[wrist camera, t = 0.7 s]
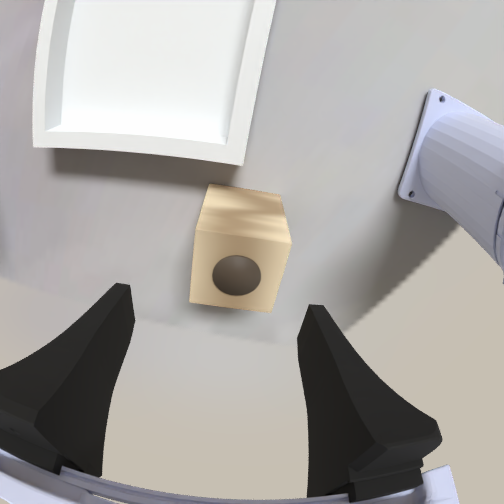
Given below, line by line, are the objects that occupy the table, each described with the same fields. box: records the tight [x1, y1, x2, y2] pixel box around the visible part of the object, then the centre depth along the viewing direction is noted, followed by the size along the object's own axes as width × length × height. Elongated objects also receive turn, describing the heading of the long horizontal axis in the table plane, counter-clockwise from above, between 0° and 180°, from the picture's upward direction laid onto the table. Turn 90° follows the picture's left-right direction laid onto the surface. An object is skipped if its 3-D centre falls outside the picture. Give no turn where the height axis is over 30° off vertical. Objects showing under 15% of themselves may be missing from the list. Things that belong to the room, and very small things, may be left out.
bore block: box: [189, 183, 292, 313], centre depth 18 cm, size 4×4×6 cm
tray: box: [33, 0, 276, 166], centre depth 13 cm, size 13×13×2 cm
